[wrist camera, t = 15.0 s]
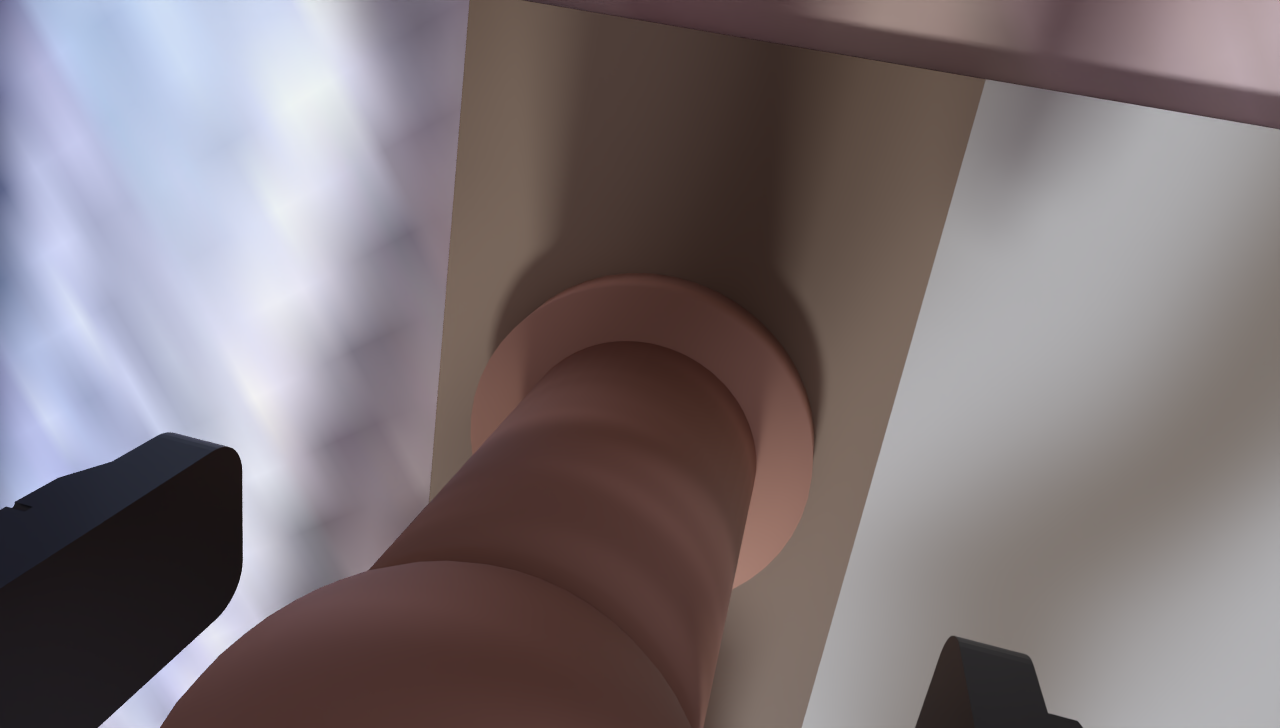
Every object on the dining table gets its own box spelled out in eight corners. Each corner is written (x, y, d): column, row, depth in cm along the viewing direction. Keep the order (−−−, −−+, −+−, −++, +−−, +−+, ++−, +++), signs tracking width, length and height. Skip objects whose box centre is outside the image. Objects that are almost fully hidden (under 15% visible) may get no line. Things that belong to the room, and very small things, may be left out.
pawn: (851, 313, 13) (863, 1049, 3) (774, 612, 15) (650, 1610, 5) (505, 241, 14) (-249, 684, 4) (475, 534, 15) (-95, 1293, 6)
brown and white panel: (2297, 303, 10) (2340, 310, 10) (1669, 1025, 14) (1685, 1044, 14) (478, -7, 13) (470, -9, 12) (421, 668, 17) (414, 678, 17)
